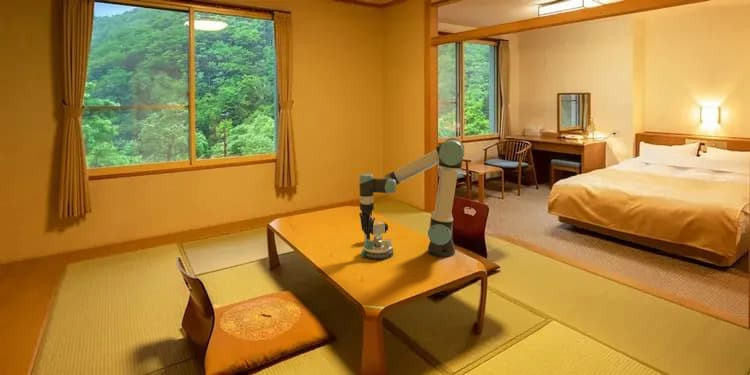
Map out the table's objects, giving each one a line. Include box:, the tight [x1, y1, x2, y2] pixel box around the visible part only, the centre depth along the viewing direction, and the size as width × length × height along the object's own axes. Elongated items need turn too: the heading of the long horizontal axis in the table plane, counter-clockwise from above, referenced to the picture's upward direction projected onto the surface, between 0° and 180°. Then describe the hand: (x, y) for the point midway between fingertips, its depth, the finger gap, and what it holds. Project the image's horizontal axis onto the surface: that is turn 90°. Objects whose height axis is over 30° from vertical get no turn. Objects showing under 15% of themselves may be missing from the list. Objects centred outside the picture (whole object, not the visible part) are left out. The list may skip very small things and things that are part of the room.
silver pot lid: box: [360, 247, 394, 261], centre depth 234 cm, size 17×18×4 cm
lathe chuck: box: [362, 235, 393, 254], centre depth 234 cm, size 16×16×6 cm
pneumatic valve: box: [370, 221, 389, 241], centre depth 258 cm, size 6×12×12 cm, turn 106°
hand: (367, 244), depth 232 cm, fingers closed
